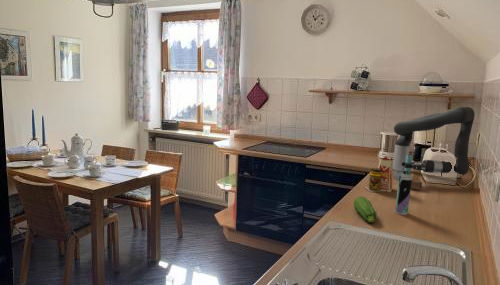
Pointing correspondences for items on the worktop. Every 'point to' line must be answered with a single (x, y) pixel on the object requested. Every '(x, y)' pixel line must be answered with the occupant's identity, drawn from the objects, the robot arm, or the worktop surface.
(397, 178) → the sleeve
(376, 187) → the condiment
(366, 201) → the vegetable
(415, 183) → the socket
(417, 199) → the worktop surface
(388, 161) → the milk carton
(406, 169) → the light blue flat panel
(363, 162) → the worktop surface
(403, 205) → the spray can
